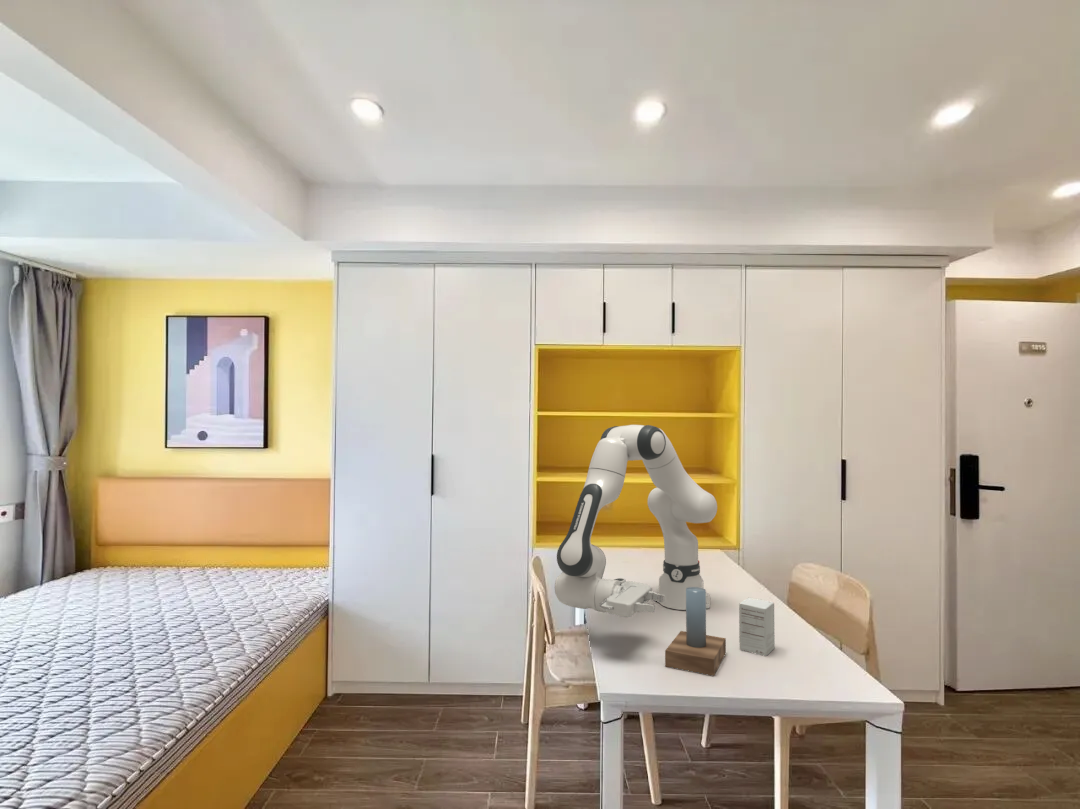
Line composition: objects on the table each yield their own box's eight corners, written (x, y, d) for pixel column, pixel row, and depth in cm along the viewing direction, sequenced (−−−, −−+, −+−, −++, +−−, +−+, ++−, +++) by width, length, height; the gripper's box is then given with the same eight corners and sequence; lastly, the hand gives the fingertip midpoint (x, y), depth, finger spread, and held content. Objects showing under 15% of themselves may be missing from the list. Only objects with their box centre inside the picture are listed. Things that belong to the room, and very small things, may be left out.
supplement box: (748, 642, 169) (748, 596, 170) (775, 648, 165) (775, 602, 165) (738, 649, 164) (738, 602, 164) (766, 656, 159) (765, 608, 159)
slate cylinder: (688, 639, 160) (688, 586, 161) (708, 642, 158) (707, 588, 158) (684, 645, 156) (683, 590, 156) (704, 648, 153) (703, 593, 154)
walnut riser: (680, 645, 166) (680, 630, 167) (725, 653, 161) (725, 638, 161) (665, 666, 152) (665, 650, 152) (713, 676, 147) (713, 659, 147)
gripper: (596, 594, 158) (647, 601, 152) (622, 576, 177) (669, 582, 170) (596, 618, 158) (647, 627, 152) (622, 598, 176) (669, 605, 170)
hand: (659, 603), depth 161 cm, fingers open, 8 cm apart
